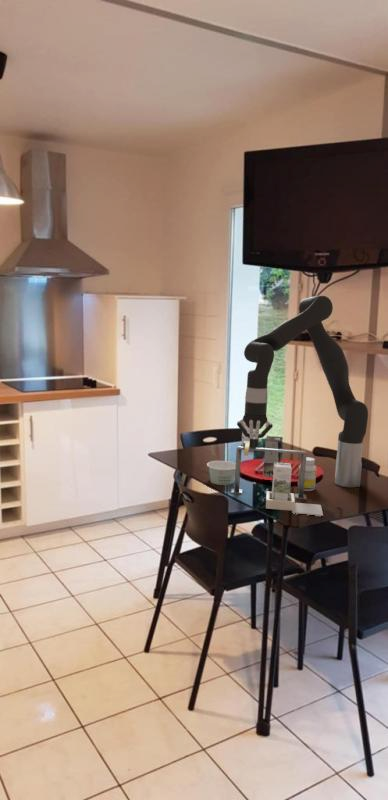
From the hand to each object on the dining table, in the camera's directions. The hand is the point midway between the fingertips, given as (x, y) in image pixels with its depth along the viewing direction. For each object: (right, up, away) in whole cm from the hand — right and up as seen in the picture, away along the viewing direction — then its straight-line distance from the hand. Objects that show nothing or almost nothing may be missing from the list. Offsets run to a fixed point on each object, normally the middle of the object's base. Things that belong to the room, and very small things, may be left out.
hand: (253, 448), depth 215 cm
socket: (+9, -19, -4) cm, 21 cm away
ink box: (+5, -5, +77) cm, 77 cm away
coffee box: (+10, -14, +27) cm, 32 cm away
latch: (-2, 0, -1) cm, 3 cm away
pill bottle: (+21, -16, +15) cm, 31 cm away
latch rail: (+6, -17, +6) cm, 19 cm away
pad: (+17, -20, -8) cm, 28 cm away
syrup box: (+9, -19, -4) cm, 21 cm away
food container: (-10, -14, +20) cm, 27 cm away
